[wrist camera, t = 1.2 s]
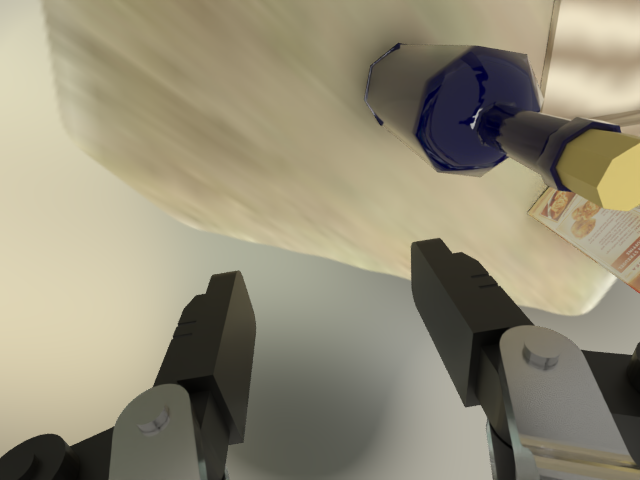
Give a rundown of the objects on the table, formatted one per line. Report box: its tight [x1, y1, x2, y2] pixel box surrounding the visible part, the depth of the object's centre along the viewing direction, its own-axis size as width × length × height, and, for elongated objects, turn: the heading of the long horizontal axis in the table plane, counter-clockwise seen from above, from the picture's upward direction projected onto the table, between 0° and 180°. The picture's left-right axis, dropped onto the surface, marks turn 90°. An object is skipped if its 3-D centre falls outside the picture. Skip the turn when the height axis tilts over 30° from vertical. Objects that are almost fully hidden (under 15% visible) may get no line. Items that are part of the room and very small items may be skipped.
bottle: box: [364, 43, 640, 211], centre depth 26 cm, size 9×9×30 cm
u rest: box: [540, 0, 640, 137], centre depth 36 cm, size 16×14×6 cm
